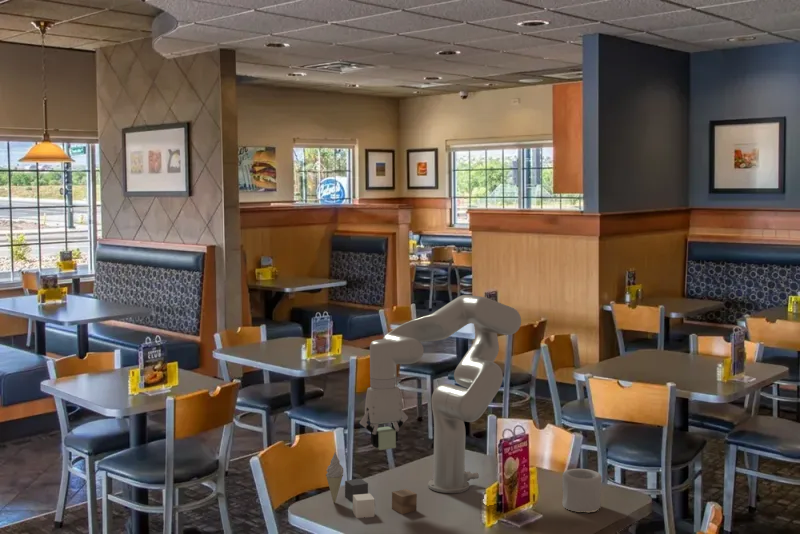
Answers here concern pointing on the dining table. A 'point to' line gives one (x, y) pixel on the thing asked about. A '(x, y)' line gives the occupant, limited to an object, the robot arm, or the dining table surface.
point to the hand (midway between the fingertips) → (384, 444)
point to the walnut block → (404, 501)
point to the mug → (581, 490)
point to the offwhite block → (363, 505)
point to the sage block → (386, 438)
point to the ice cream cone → (334, 476)
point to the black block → (355, 488)
